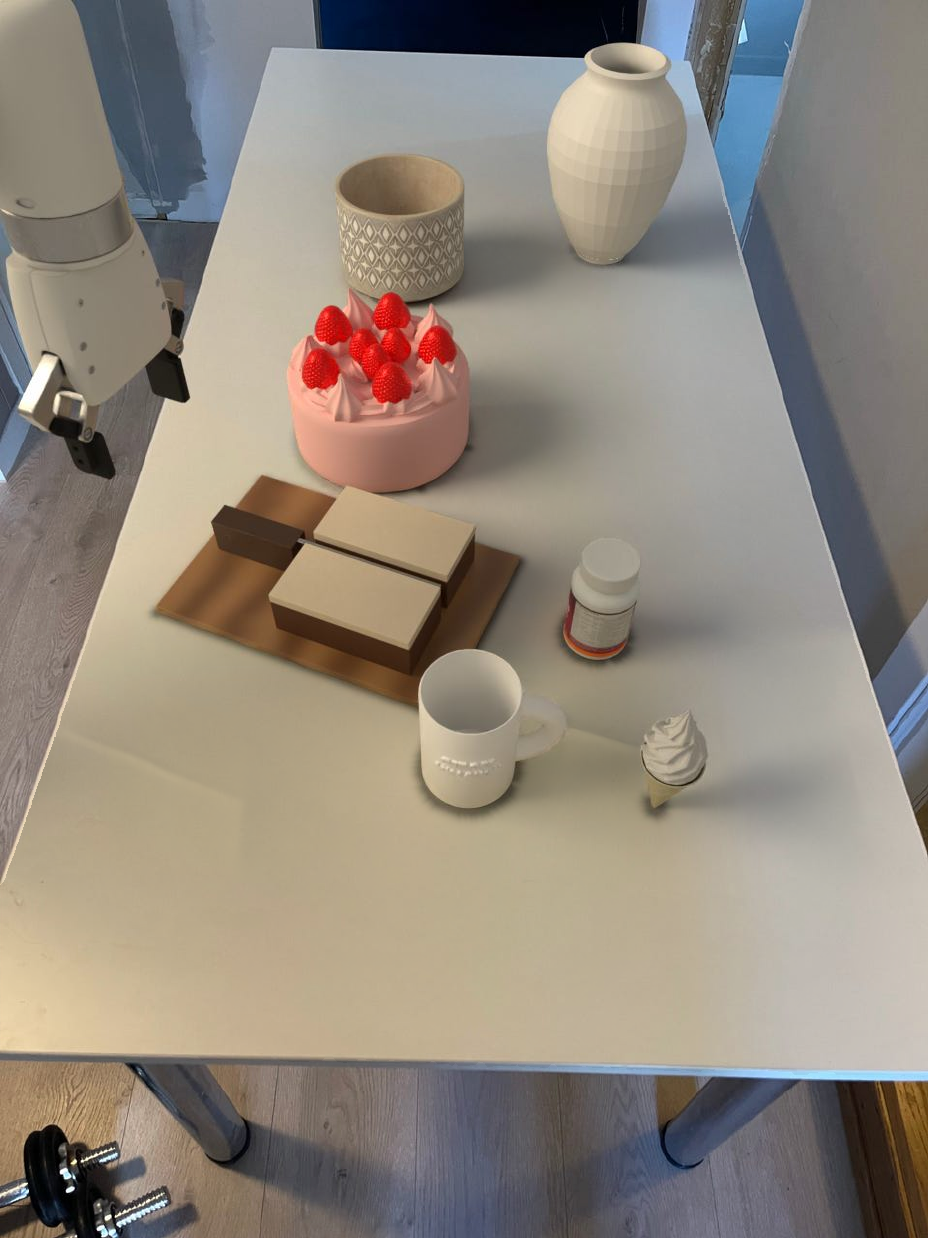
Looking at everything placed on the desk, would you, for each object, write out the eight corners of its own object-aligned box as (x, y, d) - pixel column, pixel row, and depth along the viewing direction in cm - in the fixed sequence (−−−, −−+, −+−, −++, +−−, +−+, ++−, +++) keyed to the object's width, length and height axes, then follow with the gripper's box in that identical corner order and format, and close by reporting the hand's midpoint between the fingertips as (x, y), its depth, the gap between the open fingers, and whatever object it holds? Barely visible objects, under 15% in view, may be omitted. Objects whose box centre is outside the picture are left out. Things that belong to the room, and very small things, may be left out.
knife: (218, 549, 92) (210, 521, 89) (232, 531, 94) (224, 504, 90) (435, 622, 87) (434, 596, 83) (446, 603, 88) (446, 576, 85)
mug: (566, 805, 76) (583, 731, 67) (424, 815, 75) (421, 742, 66) (552, 721, 81) (566, 642, 72) (419, 730, 80) (415, 651, 71)
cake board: (158, 612, 88) (155, 606, 87) (263, 481, 100) (261, 474, 99) (441, 716, 81) (440, 710, 81) (519, 562, 93) (519, 555, 92)
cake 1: (370, 361, 113) (361, 255, 102) (504, 424, 106) (510, 317, 95) (261, 447, 103) (238, 340, 92) (401, 523, 96) (394, 417, 85)
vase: (682, 277, 125) (726, 81, 106) (560, 293, 123) (582, 95, 103) (636, 212, 136) (668, 23, 116) (523, 226, 133) (536, 35, 113)
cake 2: (318, 566, 91) (313, 531, 87) (350, 519, 95) (346, 484, 91) (447, 609, 88) (447, 575, 84) (474, 559, 92) (475, 525, 88)
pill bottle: (577, 602, 90) (591, 523, 81) (635, 625, 88) (657, 546, 79) (552, 647, 86) (564, 569, 77) (613, 672, 85) (632, 595, 76)
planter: (439, 320, 118) (438, 227, 108) (324, 295, 122) (313, 203, 112) (478, 255, 128) (481, 165, 118) (371, 234, 131) (364, 144, 121)
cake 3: (276, 628, 86) (267, 594, 82) (311, 576, 90) (305, 542, 86) (410, 676, 83) (408, 643, 79) (441, 620, 87) (440, 587, 83)
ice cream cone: (621, 777, 78) (652, 679, 66) (681, 779, 78) (722, 681, 66) (626, 832, 75) (659, 739, 63) (688, 834, 75) (732, 742, 63)
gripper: (102, 148, 62) (159, 359, 76) (-82, 271, 52) (21, 490, 66) (196, 171, 61) (237, 382, 74) (25, 303, 51) (108, 520, 64)
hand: (135, 433), depth 70 cm, fingers open, 9 cm apart
